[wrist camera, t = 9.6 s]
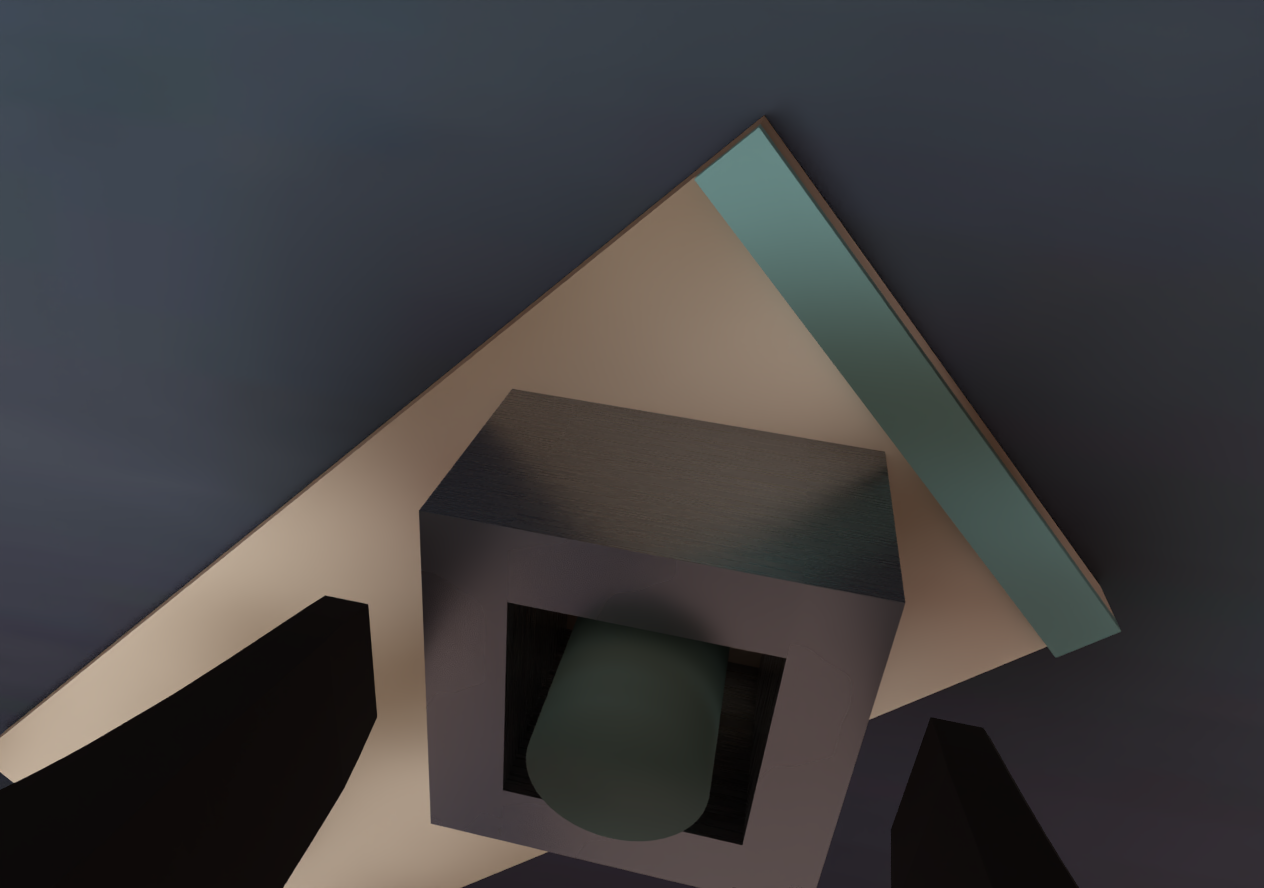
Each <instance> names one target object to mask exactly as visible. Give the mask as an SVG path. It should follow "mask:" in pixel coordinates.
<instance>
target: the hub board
mask: <svg viewBox="0 0 1264 888" xmlns="http://www.w3.org/2000/svg"><path fill="white" fill-rule="evenodd" d="M512 389H517V390H523V391H529V392H535V393H541V394H547V395H553V396H559V397H565V398H570V399H576V400H582V401H588V402H594V403H600V404H606V405H612V406H618V407H624V408H630V409H636V410H641V411H647V412H653V413H659V414H665V415H671V416H677V417H683V418H689V419H695V420H701V421H707V422H713V423H718V424H724V425H730V426H736V427H742V428H748V429H754V430H760V431H766V432H772V433H778V434H784V435H790V436H795V437H801V438H807V439H813V440H819V441H825V442H831V443H837V444H843V445H849V446H855V447H861V448H867V449H872V450H878V451H884V452H885V455H886V462H887V470H888V477H889V485H890V492H891V500H892V507H893V514H894V522H895V529H896V537H897V544H898V551H899V559H900V566H901V574H902V581H903V589H904V596H905V606H904V609H903V613H902V616H901V619H900V622H899V625H898V629H897V632H896V635H895V638H894V641H893V645H892V648H891V651H890V654H889V657H888V661H887V664H886V667H885V670H884V673H883V677H882V680H881V683H880V686H879V689H878V693H877V696H876V699H875V702H874V705H873V708H872V712H871V715H870V718H869V720H870V719H872V718H875V717H877V716H879V715H882V714H884V713H887V712H889V711H892V710H894V709H896V708H899V707H901V706H904V705H906V704H909V703H911V702H913V701H916V700H918V699H921V698H923V697H926V696H928V695H930V694H933V693H935V692H938V691H940V690H943V689H945V688H947V687H950V686H952V685H955V684H957V683H960V682H962V681H965V680H967V679H969V678H972V677H974V676H977V675H979V674H982V673H984V672H986V671H989V670H991V669H994V668H996V667H999V666H1001V665H1003V664H1006V663H1008V662H1011V661H1013V660H1016V659H1018V658H1020V657H1023V656H1025V655H1028V654H1030V653H1033V652H1035V651H1037V650H1040V649H1042V648H1045V647H1048V648H1049V650H1050V651H1051V652H1052V654H1053V655H1054V656H1055V658H1057V657H1059V656H1062V655H1064V654H1067V653H1069V652H1072V651H1074V650H1077V649H1079V648H1082V647H1084V646H1087V645H1089V644H1092V643H1094V642H1096V641H1099V640H1101V639H1104V638H1106V637H1109V636H1111V635H1114V634H1116V633H1119V632H1121V630H1120V628H1119V626H1118V623H1117V621H1116V619H1115V617H1114V615H1113V613H1112V610H1111V608H1110V606H1109V604H1108V602H1107V600H1106V597H1105V595H1104V593H1103V591H1102V589H1101V587H1100V585H1099V584H1098V582H1097V581H1096V579H1095V578H1094V577H1093V575H1092V574H1091V572H1090V571H1089V570H1088V568H1087V567H1086V565H1085V564H1084V563H1083V561H1082V560H1081V558H1080V557H1079V556H1078V554H1077V553H1076V551H1075V550H1074V549H1073V547H1072V546H1071V544H1070V543H1069V542H1068V540H1067V539H1066V537H1065V536H1064V535H1063V533H1062V532H1061V530H1060V529H1059V528H1058V526H1057V525H1056V523H1055V522H1054V521H1053V519H1052V518H1051V516H1050V515H1049V514H1048V512H1047V511H1046V509H1045V508H1044V507H1043V505H1042V504H1041V502H1040V501H1039V500H1038V498H1037V497H1036V495H1035V494H1034V493H1033V491H1032V490H1031V488H1030V487H1029V486H1028V484H1027V483H1026V481H1025V480H1024V479H1023V477H1022V476H1021V474H1020V473H1019V472H1018V470H1017V469H1016V467H1015V466H1014V465H1013V463H1012V462H1011V460H1010V459H1009V458H1008V456H1007V455H1006V453H1005V452H1004V451H1003V449H1002V448H1001V446H1000V445H999V444H998V442H997V441H996V439H995V438H994V437H993V435H992V434H991V432H990V431H989V430H988V428H987V427H986V425H985V424H984V423H983V421H982V420H981V418H980V417H979V416H978V414H977V413H976V411H975V410H974V409H973V407H972V406H971V404H970V403H969V402H968V400H967V399H966V397H965V396H964V395H963V393H962V392H961V390H960V389H959V388H958V386H957V385H956V383H955V382H954V381H953V379H952V378H951V376H950V375H949V374H948V372H947V371H946V369H945V368H944V367H943V365H942V364H941V362H940V361H939V360H938V358H937V357H936V355H935V354H934V353H933V351H932V350H931V348H930V347H929V345H928V344H927V343H926V341H925V340H924V338H923V337H922V336H921V334H920V333H919V331H918V330H917V329H916V327H915V326H914V324H913V323H912V322H911V320H910V319H909V317H908V316H907V315H906V313H905V312H904V310H903V309H902V308H901V306H900V305H899V303H898V302H897V301H896V299H895V298H894V296H893V295H892V294H891V292H890V291H889V289H888V288H887V287H886V285H885V284H884V282H883V281H882V280H881V278H880V277H879V275H878V274H877V273H876V271H875V270H874V268H873V267H872V266H871V264H870V263H869V261H868V260H867V259H866V257H865V256H864V254H863V253H862V252H861V250H860V249H859V247H858V246H857V245H856V243H855V242H854V240H853V239H852V238H851V236H850V235H849V233H848V232H847V231H846V229H845V228H844V226H843V225H842V224H841V222H840V221H839V219H838V218H837V217H836V215H835V214H834V212H833V211H832V210H831V208H830V207H829V205H828V204H827V203H826V201H825V200H824V198H823V197H822V196H821V194H820V193H819V191H818V190H817V189H816V187H815V186H814V184H813V183H812V182H811V180H810V179H809V177H808V176H807V175H806V173H805V172H804V170H803V169H802V168H801V166H800V165H799V163H798V162H797V161H796V159H795V158H794V156H793V155H792V154H791V152H790V151H789V149H788V148H787V147H786V145H785V144H784V142H783V141H782V140H781V138H780V137H779V135H778V134H777V133H776V131H775V130H774V128H773V127H772V126H771V124H770V123H769V121H768V120H767V119H766V117H765V116H763V117H762V118H760V119H759V120H758V121H757V122H755V123H754V124H753V125H752V126H750V127H749V128H748V129H747V130H745V131H744V132H743V133H742V134H741V135H739V136H738V137H737V138H736V139H734V140H733V141H732V142H731V143H729V144H728V145H727V146H726V147H725V148H723V149H722V150H721V151H720V152H718V153H717V154H716V155H715V156H713V157H712V158H711V159H710V160H708V161H707V162H706V163H705V164H704V165H702V166H701V167H700V168H699V169H697V170H696V171H695V172H694V173H692V174H691V175H690V176H689V177H688V178H686V179H685V180H684V181H683V182H681V183H680V184H679V185H678V186H676V187H675V188H674V189H673V190H672V191H670V192H669V193H668V194H667V195H665V196H664V197H663V198H662V199H660V200H659V201H658V202H657V203H655V204H654V205H653V206H652V207H651V208H649V209H648V210H647V211H646V212H644V213H643V214H642V215H641V216H639V217H638V218H637V219H636V220H635V221H633V222H632V223H631V224H630V225H628V226H627V227H626V228H625V229H623V230H622V231H621V232H620V233H619V234H617V235H616V236H615V237H614V238H612V239H611V240H610V241H609V242H607V243H606V244H605V245H604V246H602V247H601V248H600V249H599V250H598V251H596V252H595V253H594V254H593V255H591V256H590V257H589V258H588V259H586V260H585V261H584V262H583V263H582V264H580V265H579V266H578V267H577V268H575V269H574V270H573V271H572V272H570V273H569V274H568V275H567V276H565V277H564V278H563V279H562V280H561V281H559V282H558V283H557V284H556V285H554V286H553V287H552V288H551V289H549V290H548V291H547V292H546V293H545V294H543V295H542V296H541V297H540V298H538V299H537V300H536V301H535V302H533V303H532V304H531V305H530V306H529V307H527V308H526V309H525V310H524V311H522V312H521V313H520V314H519V315H517V316H516V317H515V318H514V319H512V320H511V321H510V322H509V323H508V324H506V325H505V326H504V327H503V328H501V329H500V330H499V331H498V332H496V333H495V334H494V335H493V336H492V337H490V338H489V339H488V340H487V341H485V342H484V343H483V344H482V345H480V346H479V347H478V348H477V349H475V350H474V351H473V352H472V353H471V354H469V355H468V356H467V357H466V358H464V359H463V360H462V361H461V362H459V363H458V364H457V365H456V366H455V367H453V368H452V369H451V370H450V371H448V372H447V373H446V374H445V375H443V376H442V377H441V378H440V379H439V380H437V381H436V382H435V383H434V384H432V385H431V386H430V387H429V388H427V389H426V390H425V391H424V392H422V393H421V394H420V395H419V396H418V397H416V398H415V399H414V400H413V401H411V402H410V403H409V404H408V405H406V406H405V407H404V408H403V409H402V410H400V411H399V412H398V413H397V414H395V415H394V416H393V417H392V418H390V419H389V420H388V421H387V422H385V423H384V424H383V425H382V426H381V427H379V428H378V429H377V430H376V431H374V432H373V433H372V434H371V435H369V436H368V437H367V438H366V439H365V440H363V441H362V442H361V443H360V444H358V445H357V446H356V447H355V448H353V449H352V450H351V451H350V452H349V453H347V454H346V455H345V456H344V457H342V458H341V459H340V460H339V461H337V462H336V463H335V464H334V465H332V466H331V467H330V468H329V469H328V470H326V471H325V472H324V473H323V474H321V475H320V476H319V477H318V478H316V479H315V480H314V481H313V482H312V483H310V484H309V485H308V486H307V487H305V488H304V489H303V490H302V491H300V492H299V493H298V494H297V495H296V496H294V497H293V498H292V499H291V500H289V501H288V502H287V503H286V504H284V505H283V506H282V507H281V508H279V509H278V510H277V511H276V512H275V513H273V514H272V515H271V516H270V517H268V518H267V519H266V520H265V521H263V522H262V523H261V524H260V525H259V526H257V527H256V528H255V529H254V530H252V531H251V532H250V533H249V534H247V535H246V536H245V537H244V538H242V539H241V540H240V541H239V542H238V543H236V544H235V545H234V546H233V547H231V548H230V549H229V550H228V551H226V552H225V553H224V554H223V555H222V556H220V557H219V558H218V559H217V560H215V561H214V562H213V563H212V564H210V565H209V566H208V567H207V568H206V569H204V570H203V571H202V572H201V573H199V574H198V575H197V576H196V577H194V578H193V579H192V580H191V581H189V582H188V583H187V584H186V585H185V586H183V587H182V588H181V589H180V590H178V591H177V592H176V593H175V594H173V595H172V596H171V597H170V598H169V599H167V600H166V601H165V602H164V603H162V604H161V605H160V606H159V607H157V608H156V609H155V610H154V611H152V612H151V613H150V614H149V615H148V616H146V617H145V618H144V619H143V620H141V621H140V622H139V623H138V624H136V625H135V626H134V627H133V628H132V629H130V630H129V631H128V632H127V633H125V634H124V635H123V636H122V637H120V638H119V639H118V640H117V641H116V642H114V643H113V644H112V645H111V646H109V647H108V648H107V649H106V650H104V651H103V652H102V653H101V654H99V655H98V656H97V657H96V658H95V659H93V660H92V661H91V662H90V663H88V664H87V665H86V666H85V667H83V668H82V669H81V670H80V671H79V672H77V673H76V674H75V675H74V676H72V677H71V678H70V679H69V680H67V681H66V682H65V683H64V684H62V685H61V686H60V687H59V688H58V689H56V690H55V691H54V692H53V693H51V694H50V695H49V696H48V697H46V698H45V699H44V700H43V701H42V702H40V703H39V704H38V705H37V706H35V707H34V708H33V709H32V710H30V711H29V712H28V713H27V714H26V715H24V716H23V717H22V718H21V719H19V720H18V721H17V722H16V723H14V724H13V725H12V726H11V727H9V728H8V729H7V730H6V731H5V732H4V733H3V734H1V735H0V772H1V773H2V774H3V775H5V776H6V777H7V778H8V779H10V780H11V781H12V782H14V783H15V782H17V781H19V780H21V779H23V778H25V777H27V776H29V775H31V774H33V773H35V772H37V771H39V770H41V769H43V768H45V767H47V766H49V765H50V764H52V763H54V762H56V761H58V760H60V759H62V758H64V757H66V756H67V755H69V754H71V753H73V752H75V751H77V750H78V749H80V748H82V747H84V746H86V745H87V744H89V743H91V742H93V741H94V740H96V739H98V738H99V737H101V736H103V735H105V734H106V733H108V732H110V731H111V730H113V729H115V728H116V727H118V726H120V725H122V724H123V723H125V722H127V721H128V720H130V719H132V718H133V717H135V716H137V715H139V714H140V713H142V712H144V711H145V710H147V709H149V708H150V707H152V706H154V705H155V704H157V703H159V702H161V701H162V700H164V699H166V698H167V697H169V696H171V695H172V694H174V693H176V692H177V691H179V690H180V689H182V688H184V687H185V686H187V685H188V684H190V683H191V682H193V681H194V680H196V679H198V678H199V677H201V676H202V675H204V674H205V673H207V672H208V671H210V670H212V669H213V668H215V667H216V666H218V665H219V664H221V663H223V662H224V661H226V660H227V659H229V658H230V657H232V656H233V655H235V654H236V653H238V652H239V651H241V650H242V649H244V648H246V647H247V646H249V645H250V644H252V643H253V642H255V641H256V640H258V639H259V638H261V637H262V636H264V635H265V634H267V633H268V632H270V631H271V630H273V629H274V628H276V627H277V626H279V625H280V624H282V623H283V622H285V621H286V620H288V619H289V618H291V617H292V616H294V615H295V614H297V613H298V612H300V611H301V610H303V609H304V608H306V607H308V606H309V605H311V604H312V603H314V602H315V601H317V600H319V599H320V598H322V597H323V596H325V595H326V596H331V597H336V598H341V599H346V600H351V601H356V602H361V603H365V604H368V606H369V618H370V631H371V643H372V656H373V669H374V681H375V694H376V706H377V719H376V721H375V723H374V726H373V728H372V730H371V732H370V735H369V737H368V739H367V741H366V744H365V746H364V748H363V750H362V752H361V755H360V757H359V759H358V761H357V763H356V765H355V767H354V769H353V771H352V773H351V776H350V778H349V780H348V782H347V784H346V786H345V788H344V790H343V792H342V793H341V795H340V797H339V798H338V800H337V802H336V803H335V805H334V807H333V808H332V810H331V811H330V813H329V815H328V816H327V818H326V820H325V821H324V823H323V825H322V826H321V828H320V829H319V831H318V833H317V834H316V836H315V838H314V839H313V841H312V842H311V844H310V846H309V847H308V849H307V851H306V852H305V854H304V855H303V857H302V859H301V860H300V862H299V863H298V865H297V867H296V868H295V870H294V871H293V873H292V875H291V876H290V878H289V879H288V881H287V883H286V884H285V886H284V887H283V888H461V887H464V886H466V885H469V884H471V883H473V882H476V881H478V880H481V879H483V878H486V877H488V876H491V875H493V874H495V873H498V872H500V871H503V870H505V869H508V868H510V867H512V866H515V865H517V864H520V863H522V862H525V861H527V860H529V859H532V858H534V857H537V856H539V855H542V854H544V853H546V852H548V851H543V850H539V849H535V848H531V847H527V846H522V845H518V844H514V843H510V842H506V841H501V840H497V839H493V838H489V837H485V836H480V835H476V834H472V833H468V832H464V831H459V830H455V829H451V828H447V827H443V826H438V825H434V824H431V818H430V791H429V765H428V739H427V712H426V686H425V660H424V633H423V607H422V581H421V555H420V528H419V510H420V508H421V507H422V506H423V505H424V503H425V502H426V501H427V499H428V498H429V497H430V495H431V494H432V493H433V491H434V490H435V489H436V488H437V486H438V485H439V484H440V482H441V481H442V480H443V478H444V477H445V476H446V475H447V473H448V472H449V471H450V469H451V468H452V467H453V465H454V464H455V463H456V461H457V460H458V459H459V458H460V456H461V455H462V454H463V452H464V451H465V450H466V448H467V447H468V446H469V444H470V443H471V442H472V441H473V439H474V438H475V437H476V435H477V434H478V433H479V431H480V430H481V429H482V427H483V426H484V425H485V424H486V422H487V421H488V420H489V418H490V417H491V416H492V414H493V413H494V412H495V410H496V409H497V408H498V407H499V405H500V404H501V403H502V401H503V400H504V399H505V397H506V396H507V395H508V394H509V392H510V391H511V390H512ZM567 629H570V630H572V632H571V635H570V638H569V640H568V643H567V645H566V648H565V651H564V653H563V656H562V658H561V661H560V664H559V666H558V669H557V671H556V674H555V677H554V679H553V682H552V684H551V687H550V689H549V692H548V695H547V697H546V700H545V702H544V705H543V708H542V710H541V713H540V715H539V718H538V721H537V723H536V726H535V728H534V731H533V733H532V736H531V739H530V741H529V744H528V747H527V752H526V767H527V771H528V775H529V777H530V780H531V782H532V784H533V786H534V788H535V790H536V791H537V793H538V794H539V795H540V797H541V798H542V799H543V800H544V801H545V802H546V804H547V805H548V806H549V807H550V808H552V809H553V810H554V811H555V812H556V813H557V814H559V815H560V816H562V817H563V818H564V819H566V820H567V821H569V822H571V823H572V824H574V825H576V826H578V827H580V828H582V829H584V830H586V831H589V832H592V833H594V834H597V835H600V836H604V837H608V838H612V839H617V840H624V841H653V840H659V839H664V838H667V837H670V836H673V835H676V834H678V833H680V832H682V831H684V830H686V829H687V828H689V827H690V826H692V825H693V824H694V823H695V822H696V821H697V820H698V819H699V818H700V816H701V815H702V814H703V812H704V810H705V808H706V806H707V803H708V800H709V795H710V788H711V780H712V773H713V766H714V759H715V752H716V744H717V737H718V730H719V723H720V716H721V708H722V701H723V694H724V687H725V679H726V672H727V665H728V662H732V663H737V664H742V665H747V666H752V667H757V668H759V665H760V660H761V656H762V653H757V652H752V651H747V650H743V649H738V648H733V647H728V646H723V645H718V644H713V643H708V642H703V641H698V640H693V639H688V638H683V637H678V636H673V635H668V634H663V633H658V632H653V631H648V630H643V629H638V628H633V627H628V626H623V625H618V624H613V623H609V622H604V621H599V620H594V619H589V618H584V617H579V616H574V615H569V614H568V617H567Z"/></svg>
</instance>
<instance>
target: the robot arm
mask: <svg viewBox="0 0 1264 888" xmlns="http://www.w3.org/2000/svg"><path fill="white" fill-rule="evenodd" d="M376 719H377V706H376V694H375V681H374V669H373V656H372V643H371V631H370V618H369V606H368V604H365V603H361V602H356V601H351V600H346V599H341V598H336V597H331V596H326V595H325V596H323V597H322V598H320V599H319V600H317V601H315V602H314V603H312V604H311V605H309V606H308V607H306V608H304V609H303V610H301V611H300V612H298V613H297V614H295V615H294V616H292V617H291V618H289V619H288V620H286V621H285V622H283V623H282V624H280V625H279V626H277V627H276V628H274V629H273V630H271V631H270V632H268V633H267V634H265V635H264V636H262V637H261V638H259V639H258V640H256V641H255V642H253V643H252V644H250V645H249V646H247V647H246V648H244V649H242V650H241V651H239V652H238V653H236V654H235V655H233V656H232V657H230V658H229V659H227V660H226V661H224V662H223V663H221V664H219V665H218V666H216V667H215V668H213V669H212V670H210V671H208V672H207V673H205V674H204V675H202V676H201V677H199V678H198V679H196V680H194V681H193V682H191V683H190V684H188V685H187V686H185V687H184V688H182V689H180V690H179V691H177V692H176V693H174V694H172V695H171V696H169V697H167V698H166V699H164V700H162V701H161V702H159V703H157V704H155V705H154V706H152V707H150V708H149V709H147V710H145V711H144V712H142V713H140V714H139V715H137V716H135V717H133V718H132V719H130V720H128V721H127V722H125V723H123V724H122V725H120V726H118V727H116V728H115V729H113V730H111V731H110V732H108V733H106V734H105V735H103V736H101V737H99V738H98V739H96V740H94V741H93V742H91V743H89V744H87V745H86V746H84V747H82V748H80V749H78V750H77V751H75V752H73V753H71V754H69V755H67V756H66V757H64V758H62V759H60V760H58V761H56V762H54V763H52V764H50V765H49V766H47V767H45V768H43V769H41V770H39V771H37V772H35V773H33V774H31V775H29V776H27V777H25V778H23V779H21V780H19V781H17V782H15V783H13V784H11V785H9V786H7V787H5V788H3V789H1V790H0V888H283V887H284V886H285V884H286V883H287V881H288V879H289V878H290V876H291V875H292V873H293V871H294V870H295V868H296V867H297V865H298V863H299V862H300V860H301V859H302V857H303V855H304V854H305V852H306V851H307V849H308V847H309V846H310V844H311V842H312V841H313V839H314V838H315V836H316V834H317V833H318V831H319V829H320V828H321V826H322V825H323V823H324V821H325V820H326V818H327V816H328V815H329V813H330V811H331V810H332V808H333V807H334V805H335V803H336V802H337V800H338V798H339V797H340V795H341V793H342V792H343V790H344V788H345V786H346V784H347V782H348V780H349V778H350V776H351V773H352V771H353V769H354V767H355V765H356V763H357V761H358V759H359V757H360V755H361V752H362V750H363V748H364V746H365V744H366V741H367V739H368V737H369V735H370V732H371V730H372V728H373V726H374V723H375V721H376ZM891 888H1079V887H1078V886H1077V884H1076V882H1075V881H1074V879H1073V878H1072V876H1071V875H1070V873H1069V871H1068V870H1067V868H1066V867H1065V865H1064V864H1063V862H1062V860H1061V859H1060V857H1059V855H1058V854H1057V852H1056V851H1055V849H1054V847H1053V846H1052V844H1051V842H1050V841H1049V839H1048V837H1047V836H1046V834H1045V832H1044V831H1043V829H1042V827H1041V826H1040V824H1039V822H1038V821H1037V819H1036V817H1035V815H1034V814H1033V812H1032V810H1031V809H1030V807H1029V805H1028V804H1027V802H1026V800H1025V798H1024V797H1023V795H1022V793H1021V792H1020V790H1019V788H1018V786H1017V785H1016V783H1015V781H1014V779H1013V778H1012V776H1011V774H1010V772H1009V771H1008V769H1007V767H1006V765H1005V764H1004V762H1003V760H1002V758H1001V756H1000V755H999V753H998V751H997V749H996V748H995V746H994V744H993V742H992V741H991V739H990V737H989V736H988V734H987V733H986V731H985V730H984V729H983V728H981V727H976V726H971V725H966V724H961V723H956V722H951V721H946V720H941V719H936V718H930V721H929V724H928V727H927V729H926V732H925V735H924V738H923V741H922V744H921V746H920V749H919V752H918V755H917V758H916V761H915V763H914V766H913V769H912V772H911V775H910V778H909V780H908V783H907V786H906V789H905V792H904V795H903V797H902V800H901V803H900V806H899V809H898V812H897V814H896V817H895V820H894V823H893V826H892V829H891Z"/></svg>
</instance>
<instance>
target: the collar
mask: <svg viewBox="0 0 1264 888" xmlns="http://www.w3.org/2000/svg"><path fill="white" fill-rule="evenodd" d="M419 528H420V555H421V581H422V607H423V633H424V660H425V686H426V712H427V739H428V765H429V791H430V818H431V824H434V825H438V826H443V827H447V828H451V829H455V830H459V831H464V832H468V833H472V834H476V835H480V836H485V837H489V838H493V839H497V840H501V841H506V842H510V843H514V844H518V845H522V846H527V847H531V848H535V849H539V850H543V851H548V852H552V853H556V854H560V855H564V856H569V857H573V858H577V859H581V860H586V861H590V862H594V863H598V864H602V865H607V866H611V867H615V868H619V869H623V870H628V871H632V872H636V873H640V874H644V875H649V876H653V877H657V878H661V879H665V880H670V881H674V882H678V883H682V884H686V885H691V886H695V887H699V888H816V887H817V884H818V881H819V878H820V875H821V871H822V868H823V865H824V862H825V859H826V855H827V852H828V849H829V846H830V843H831V839H832V836H833V833H834V830H835V827H836V823H837V820H838V817H839V814H840V811H841V807H842V804H843V801H844V798H845V795H846V791H847V788H848V785H849V782H850V779H851V776H852V772H853V769H854V766H855V763H856V760H857V756H858V753H859V750H860V747H861V744H862V740H863V737H864V734H865V731H866V728H867V724H868V721H869V718H870V715H871V712H872V708H873V705H874V702H875V699H876V696H877V693H878V689H879V686H880V683H881V680H882V677H883V673H884V670H885V667H886V664H887V661H888V657H889V654H890V651H891V648H892V645H893V641H894V638H895V635H896V632H897V629H898V625H899V622H900V619H901V616H902V613H903V609H904V606H905V596H904V589H903V581H902V574H901V566H900V559H899V551H898V544H897V537H896V529H895V522H894V514H893V507H892V500H891V492H890V485H889V477H888V470H887V462H886V455H885V452H884V451H878V450H872V449H867V448H861V447H855V446H849V445H843V444H837V443H831V442H825V441H819V440H813V439H807V438H801V437H795V436H790V435H784V434H778V433H772V432H766V431H760V430H754V429H748V428H742V427H736V426H730V425H724V424H718V423H713V422H707V421H701V420H695V419H689V418H683V417H677V416H671V415H665V414H659V413H653V412H647V411H641V410H636V409H630V408H624V407H618V406H612V405H606V404H600V403H594V402H588V401H582V400H576V399H570V398H565V397H559V396H553V395H547V394H541V393H535V392H529V391H523V390H517V389H512V390H511V391H510V392H509V394H508V395H507V396H506V397H505V399H504V400H503V401H502V403H501V404H500V405H499V407H498V408H497V409H496V410H495V412H494V413H493V414H492V416H491V417H490V418H489V420H488V421H487V422H486V424H485V425H484V426H483V427H482V429H481V430H480V431H479V433H478V434H477V435H476V437H475V438H474V439H473V441H472V442H471V443H470V444H469V446H468V447H467V448H466V450H465V451H464V452H463V454H462V455H461V456H460V458H459V459H458V460H457V461H456V463H455V464H454V465H453V467H452V468H451V469H450V471H449V472H448V473H447V475H446V476H445V477H444V478H443V480H442V481H441V482H440V484H439V485H438V486H437V488H436V489H435V490H434V491H433V493H432V494H431V495H430V497H429V498H428V499H427V501H426V502H425V503H424V505H423V506H422V507H421V508H420V510H419ZM568 614H569V615H574V616H579V617H584V618H589V619H594V620H599V621H604V622H609V623H613V624H618V625H623V626H628V627H633V628H638V629H643V630H648V631H653V632H658V633H663V634H668V635H673V636H678V637H683V638H688V639H693V640H698V641H703V642H708V643H713V644H718V645H723V646H728V647H733V648H738V649H743V650H747V651H752V652H757V653H762V656H761V660H760V665H759V668H757V667H752V666H747V665H742V664H737V663H732V662H728V665H727V672H726V679H725V687H724V694H723V701H722V708H721V716H720V723H719V730H718V737H717V744H716V752H715V759H714V766H713V773H712V780H711V788H710V795H709V800H708V803H707V806H706V808H705V810H704V812H703V814H702V815H701V816H700V818H699V819H698V820H697V821H696V822H695V823H694V824H693V825H692V826H690V827H689V828H687V829H686V830H684V831H682V832H680V833H678V834H676V835H673V836H670V837H667V838H664V839H659V840H653V841H624V840H617V839H612V838H608V837H604V836H600V835H597V834H594V833H592V832H589V831H586V830H584V829H582V828H580V827H578V826H576V825H574V824H572V823H571V822H569V821H567V820H566V819H564V818H563V817H562V816H560V815H559V814H557V813H556V812H555V811H554V810H553V809H552V808H550V807H549V806H548V805H547V804H546V802H545V801H544V800H543V799H542V798H541V797H540V795H539V794H538V793H537V791H536V790H535V788H534V786H533V784H532V782H531V780H530V777H529V775H528V771H527V767H526V752H527V747H528V744H529V741H530V739H531V736H532V733H533V731H534V728H535V726H536V723H537V721H538V718H539V715H540V713H541V710H542V708H543V705H544V702H545V700H546V697H547V695H548V692H549V689H550V687H551V684H552V682H553V679H554V677H555V674H556V671H557V669H558V666H559V664H560V661H561V658H562V656H563V653H564V651H565V648H566V645H567V643H568V640H569V638H570V635H571V632H572V630H570V629H567V617H568Z"/></svg>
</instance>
